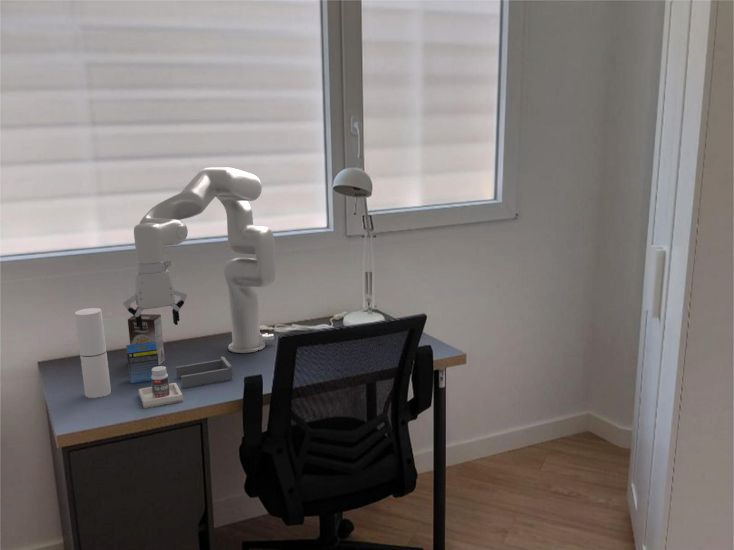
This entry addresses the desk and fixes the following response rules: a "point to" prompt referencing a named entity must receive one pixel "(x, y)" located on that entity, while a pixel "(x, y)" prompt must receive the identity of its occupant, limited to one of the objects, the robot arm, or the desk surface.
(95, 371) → the cylindrical container
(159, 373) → the pill bottle
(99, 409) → the desk surface
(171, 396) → the tray
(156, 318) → the coffee box
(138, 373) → the label tape cartridge
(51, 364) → the desk surface
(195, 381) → the bay
